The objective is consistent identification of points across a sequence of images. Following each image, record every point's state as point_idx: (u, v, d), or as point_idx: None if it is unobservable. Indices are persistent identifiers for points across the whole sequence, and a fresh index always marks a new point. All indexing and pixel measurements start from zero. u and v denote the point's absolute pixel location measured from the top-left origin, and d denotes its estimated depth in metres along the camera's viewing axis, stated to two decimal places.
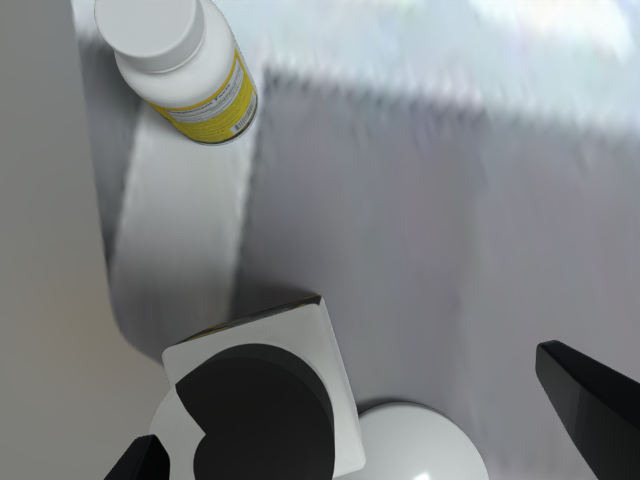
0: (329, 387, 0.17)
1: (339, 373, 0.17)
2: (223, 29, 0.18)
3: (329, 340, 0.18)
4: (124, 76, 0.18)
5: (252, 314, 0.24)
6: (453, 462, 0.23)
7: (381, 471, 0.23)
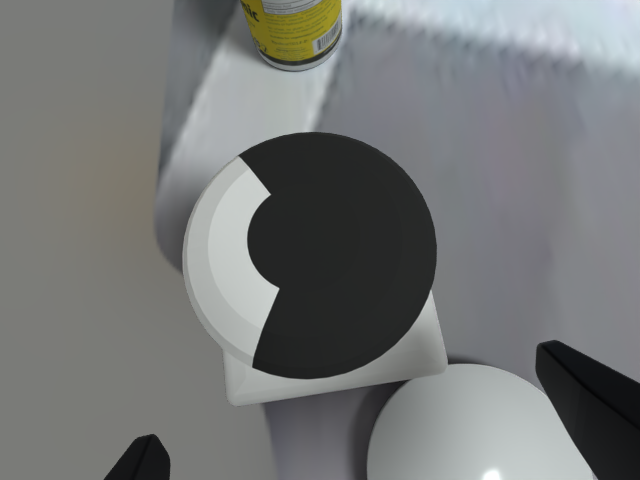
0: None
1: None
2: None
3: None
4: None
5: None
6: (542, 444, 0.17)
7: (446, 442, 0.17)
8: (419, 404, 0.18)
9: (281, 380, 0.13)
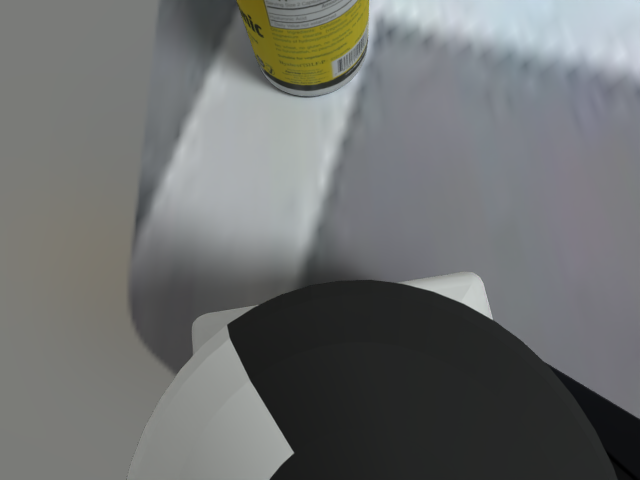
0: None
1: None
2: None
3: None
4: None
5: None
6: None
7: None
8: None
9: None
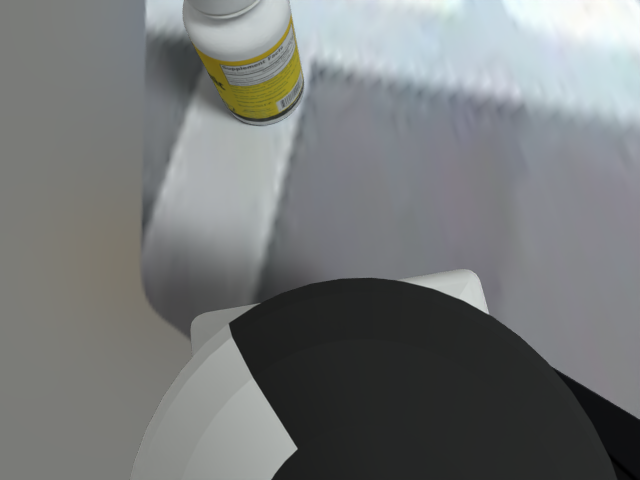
0: None
1: None
2: None
3: None
4: (189, 29, 0.20)
5: None
6: None
7: None
8: None
9: None
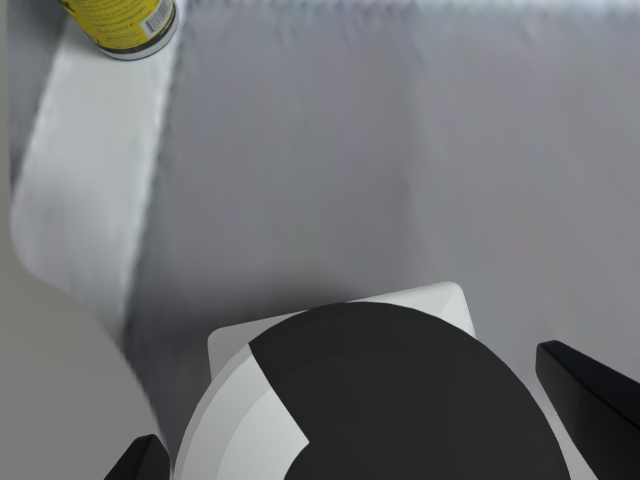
0: None
1: None
2: None
3: None
4: None
5: None
6: None
7: None
8: None
9: None
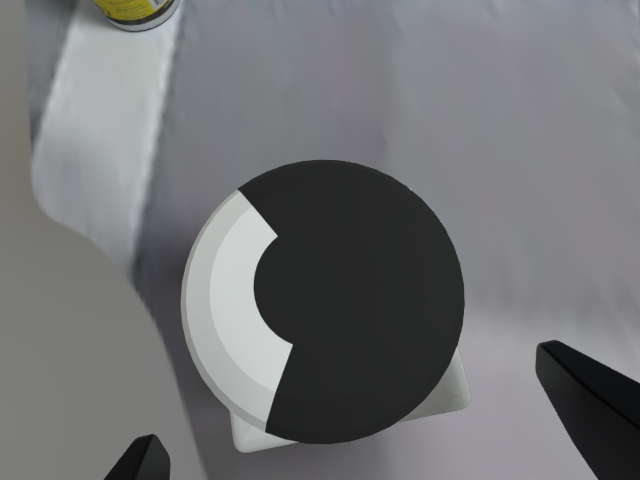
0: None
1: None
2: None
3: None
4: None
5: None
6: None
7: None
8: None
9: None
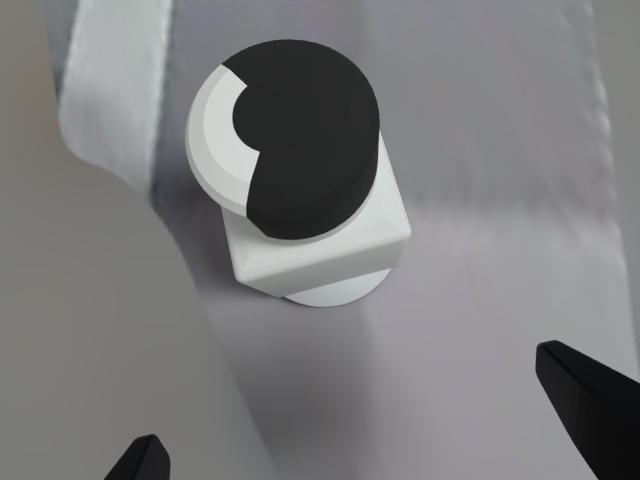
0: None
1: (383, 145, 0.17)
2: None
3: None
4: None
5: None
6: None
7: None
8: None
9: (277, 257, 0.16)
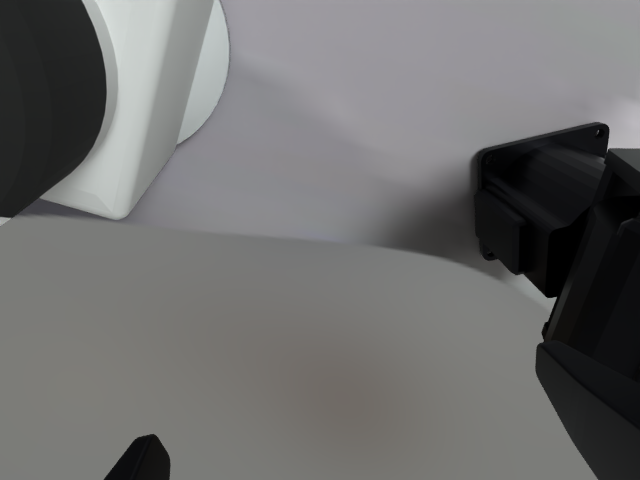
0: None
1: None
2: None
3: None
4: None
5: None
6: None
7: None
8: None
9: (114, 161, 0.11)
